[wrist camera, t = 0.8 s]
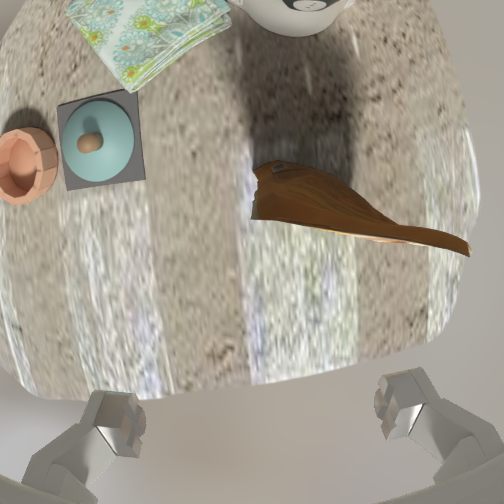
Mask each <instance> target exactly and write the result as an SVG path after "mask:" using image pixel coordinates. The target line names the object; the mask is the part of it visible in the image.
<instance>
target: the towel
mask: <svg viewBox="0 0 504 504" xmlns="http://www.w3.org/2000/svg"><path fill="white" fill-rule="evenodd" d="M229 11H231V8H230V6H229V5H228V4H227V2H226V1H225V0H73V1H72V2H71V3H70V4H69V5H68V6H67V7H66V9H65V13H66V15H67V16H68V17H69V18H71V22H72V23H73V24H74V25H75V26H76V27H77V29H78V30H79V31H80V32H81V33H82V35H83V36H84V38H85V39H86V40H87V41H88V43H89V44H90V45H91V47H92V48H93V49H94V51H95V52H96V53H97V55H98V56H99V57H100V58H101V60H102V61H103V62H104V64H105V65H106V66H107V67H108V69H109V70H110V71H111V72H112V74H113V75H114V77H115V78H116V79H117V80H118V81H119V82H120V84H121V85H122V86H123V87H124V89H125V90H128V92H129V93H130V94H131V93H133V92H135V91H137V90H138V89H139V88H141V87H143V86H144V85H145V84H146V83H147V82H149V81H150V80H151V79H152V78H153V77H155V76H156V75H157V74H158V73H160V72H161V71H162V70H164V69H165V68H166V67H168V66H169V65H170V64H172V63H173V62H174V61H176V60H177V59H178V58H180V57H181V56H183V55H184V54H185V53H186V52H188V51H189V50H190V49H192V48H193V47H194V46H196V45H197V44H199V43H200V42H202V41H204V40H206V39H208V38H210V37H212V36H214V35H216V34H218V33H219V32H221V31H223V30H225V29H228V28H229V27H231V26H232V22H231V18H230V17H229V15H228V13H227V12H229Z"/></svg>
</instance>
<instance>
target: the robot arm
mask: <svg viewBox="0 0 504 504" xmlns="http://www.w3.org/2000/svg"><path fill="white" fill-rule="evenodd" d="M227 1H228V2H230V3H231V4H233V5H235V6H237V7H240V8H242V9H243V10H245V11H246V12H247V13H248V14H249V16H250V17H251V18H252V19H253V20H254V21H255V22H256V23H258V24H259V25H260V26H262V27H263V28H265V29H267V30H269V31H271V32H274V33H277V34H280V35H284V36H291V37H303V36H309V35H313V34H316V33H319V32H321V31H323V30H324V29H326V28H327V27H328V26H330V25H331V24H332V22H333V21H334V20H335V18H336V17H337V16H338V14H339V13H340V12H342V11H344V10H346V9H348V8H350V7H351V6H352V5H353V4H354V2H355V0H227ZM378 385H379V387H380V388H379V389H378V390H377V391H376V392H375V396H374V408H375V412H376V415H377V417H378V418H380V419H381V420H383V422H382V425H381V428H382V431H383V433H384V436H385V439H386V441H389V440H393V439H397V438H402V437H406V436H408V437H409V438H410V439H411V440H413V441H414V442H415V443H416V444H417V445H419V446H420V447H421V448H423V449H424V450H425V451H426V452H427V453H429V454H430V455H431V456H432V457H434V458H435V459H436V460H437V461H439V462H440V463H441V464H442V466H441V467H440V468H439V469H438V471H437V472H436V473H435V475H434V476H433V479H434V481H435V485H432V486H430V487H427V488H424V489H421V490H419V491H416V492H412V493H409V494H406V495H404V496H400V497H397V498H393V499H390V500H386V501H383V502H379V503H375V504H504V443H503V442H502V440H501V438H500V436H499V434H498V433H497V431H496V429H495V427H494V426H493V425H492V424H490V423H489V422H487V421H485V420H483V419H481V418H479V417H477V416H476V415H474V414H472V413H470V412H468V411H467V410H465V409H463V408H461V407H459V406H458V405H456V404H454V403H452V402H450V401H449V400H447V399H445V398H443V399H441V398H440V397H439V395H438V393H437V391H436V390H435V388H434V386H433V385H432V383H431V381H430V379H429V378H428V376H427V375H426V373H425V371H424V370H423V368H421V367H419V368H415V369H411V370H405V371H401V372H397V373H392V374H387V375H382V376H381V377H380V379H379V382H378ZM138 401H139V400H138V398H137V396H136V394H134V393H124V392H114V391H103V390H94V391H93V392H92V394H91V396H90V398H89V401H88V403H87V406H86V408H85V410H84V413H83V415H82V418H81V420H80V423H79V424H74V425H73V426H72V427H70V428H69V429H68V430H66V431H65V432H64V433H62V434H61V435H60V436H58V437H57V438H56V439H54V440H53V441H52V442H50V443H49V444H47V445H46V446H45V447H43V448H42V449H41V450H39V451H38V452H37V453H35V454H34V455H32V457H31V460H30V462H29V464H28V467H27V469H26V472H25V474H24V477H23V479H22V482H21V483H19V482H17V481H15V480H12V479H10V478H8V477H5V476H3V475H1V474H0V504H97V502H98V499H97V498H96V496H94V494H92V493H91V492H90V491H89V490H88V489H87V488H88V487H89V486H90V485H91V484H92V483H93V482H94V481H95V480H96V479H97V478H98V477H99V476H100V474H101V473H102V472H103V471H104V470H105V469H106V468H107V467H108V466H109V465H110V464H111V463H112V462H113V461H114V460H115V458H116V457H117V456H123V457H134V458H139V454H140V450H141V446H142V442H141V440H140V438H139V437H140V436H141V435H143V434H144V433H145V428H146V417H145V412H144V410H143V408H142V407H140V406H139V405H137V404H138Z"/></svg>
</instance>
